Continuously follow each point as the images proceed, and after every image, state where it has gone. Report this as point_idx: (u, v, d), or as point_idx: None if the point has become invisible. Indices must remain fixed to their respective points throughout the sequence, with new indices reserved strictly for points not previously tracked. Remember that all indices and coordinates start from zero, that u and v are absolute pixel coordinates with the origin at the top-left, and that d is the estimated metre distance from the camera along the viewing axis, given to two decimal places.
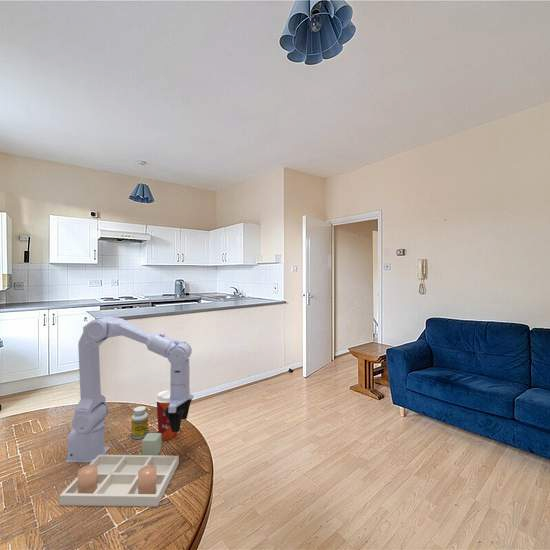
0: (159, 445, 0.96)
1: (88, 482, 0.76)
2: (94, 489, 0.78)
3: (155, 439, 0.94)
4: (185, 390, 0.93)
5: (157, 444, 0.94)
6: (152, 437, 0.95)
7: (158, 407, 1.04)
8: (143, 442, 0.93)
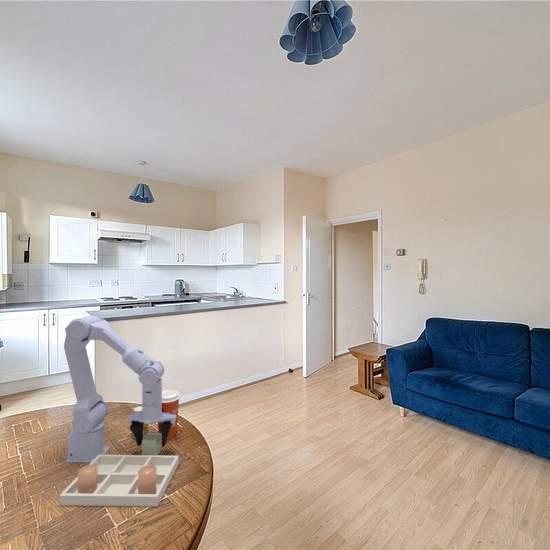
0: (159, 445, 0.96)
1: (88, 482, 0.76)
2: (94, 489, 0.78)
3: (155, 439, 0.94)
4: (143, 411, 0.93)
5: (157, 444, 0.94)
6: (152, 437, 0.95)
7: None
8: (143, 442, 0.93)
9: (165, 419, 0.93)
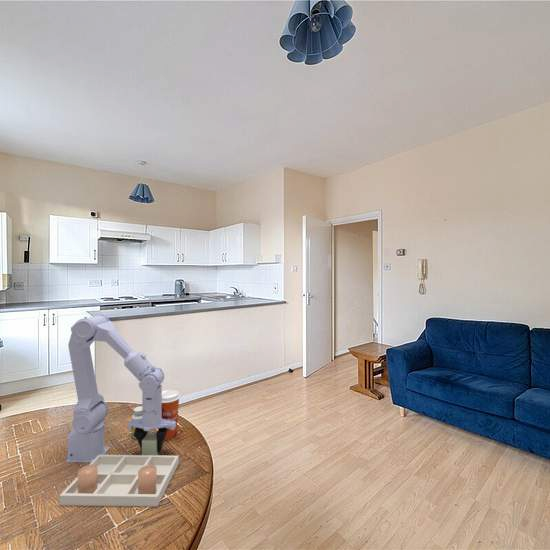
0: None
1: (88, 482, 0.76)
2: (94, 489, 0.78)
3: (155, 439, 0.94)
4: (143, 418, 0.93)
5: None
6: (152, 437, 0.95)
7: None
8: (143, 442, 0.93)
9: (165, 426, 0.93)
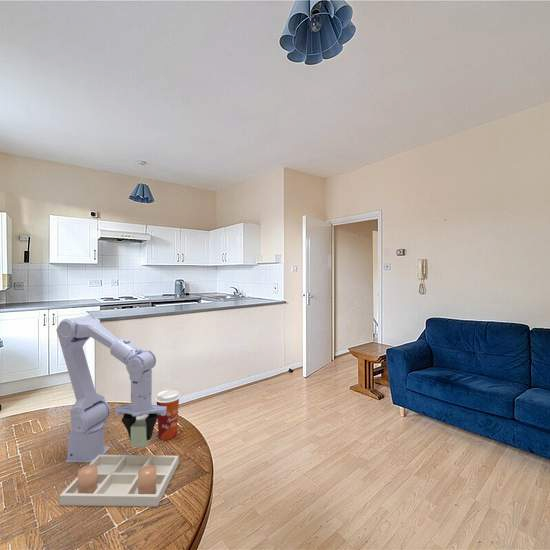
0: None
1: (88, 482, 0.76)
2: (94, 489, 0.78)
3: (145, 425, 0.89)
4: (132, 403, 0.87)
5: None
6: (142, 423, 0.90)
7: None
8: (132, 428, 0.88)
9: (155, 411, 0.88)
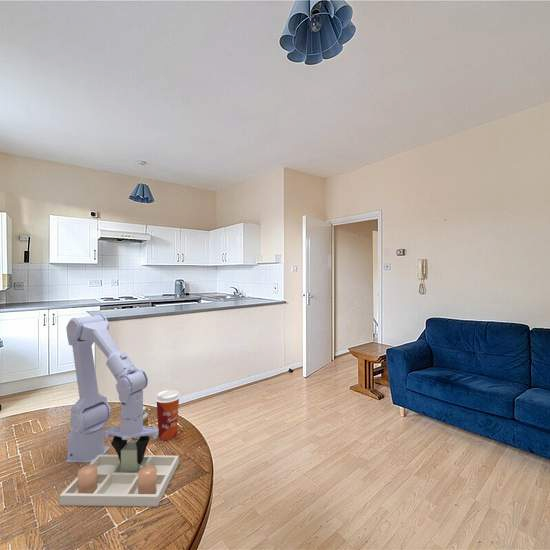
0: None
1: (88, 482, 0.76)
2: (94, 489, 0.78)
3: (136, 448, 0.85)
4: (122, 425, 0.83)
5: None
6: (133, 446, 0.86)
7: (158, 407, 1.04)
8: (122, 452, 0.84)
9: (146, 434, 0.84)
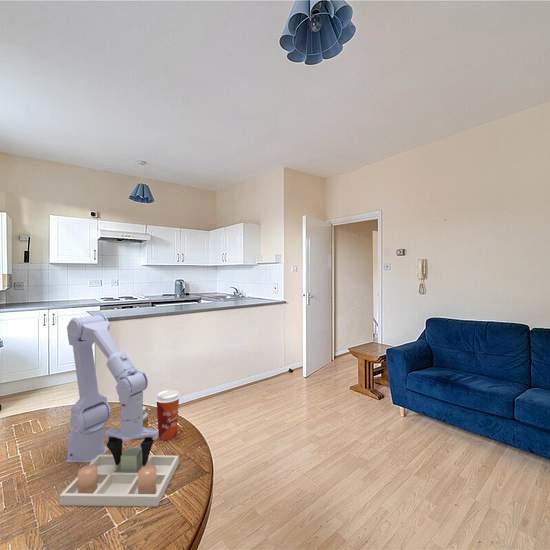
0: (140, 461, 0.87)
1: (88, 482, 0.76)
2: (94, 489, 0.78)
3: (135, 454, 0.85)
4: (122, 427, 0.83)
5: (138, 460, 0.85)
6: (133, 452, 0.86)
7: (158, 407, 1.04)
8: (122, 458, 0.84)
9: (146, 435, 0.84)
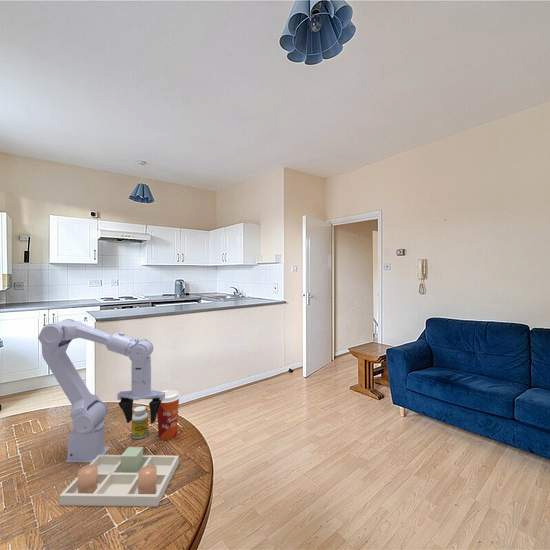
0: (140, 461, 0.87)
1: (88, 482, 0.76)
2: (94, 489, 0.78)
3: (135, 454, 0.85)
4: (132, 388, 0.93)
5: (138, 460, 0.85)
6: (133, 452, 0.86)
7: None
8: (122, 458, 0.84)
9: (154, 396, 0.94)
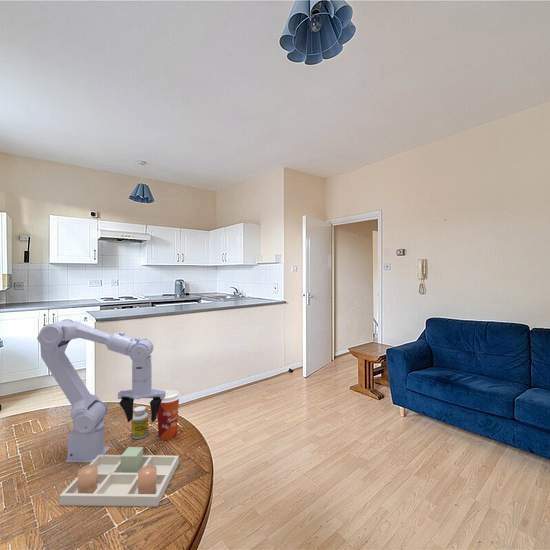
0: (140, 461, 0.87)
1: (88, 482, 0.76)
2: (94, 489, 0.78)
3: (135, 454, 0.85)
4: (133, 387, 0.94)
5: (138, 460, 0.85)
6: (133, 452, 0.86)
7: None
8: (122, 458, 0.84)
9: (154, 395, 0.95)
